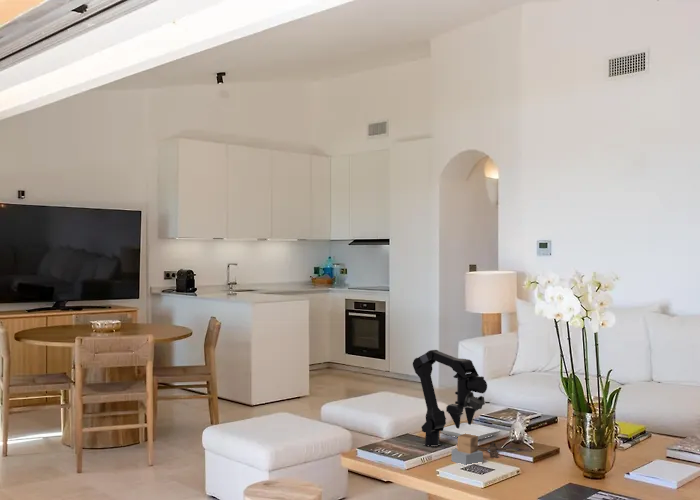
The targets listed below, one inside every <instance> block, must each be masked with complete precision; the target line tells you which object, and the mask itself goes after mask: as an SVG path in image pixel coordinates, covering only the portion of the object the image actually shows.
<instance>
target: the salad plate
mask: <svg viewBox="0 0 700 500" xmlns="http://www.w3.org/2000/svg"><path fill="white" fill-rule="evenodd" d="M472 430H476V431H482V432H491V433H487V434H483V435H480V436H478V439H481V440H483V439H482V438H485V437H488V436H491V435H494V436H496V435H495V434H497V435H498V434H500V433H501V431H502V430H501V429H498V428H493V427H489V426H485V425H482V424H475V423H473V422H471V425H469V424H468V422H460V427H459V429H458V428H456V426H455V424H452V425H448V426H444V429H443V431H440V433H441V434H445V435H446V434H447V436H449V435H451V436H450V437H452V436H455V437H454V438H456V437H458V436H460V435H462V434H460V433H461V432H463V431H472ZM491 437H492V436H491ZM488 438H489V437H488ZM485 439H486V438H485Z"/></svg>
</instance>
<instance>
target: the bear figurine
mask: <svg viewBox="0 0 700 500" xmlns="http://www.w3.org/2000/svg"><path fill="white" fill-rule="evenodd" d="M506 449H512V447H509V448H505V447H502V448H500V447H499V446H497V445H496V443H495V442H494V441H492V442H490V443H489V445H488V446H487V447H484V446H483V447H482V446H478V450H486V451H489V454H488V455H489V457H490V458H491V459H493V458H495V459H498V458H499V452H498V451H500V452H501V451H502V450H506Z"/></svg>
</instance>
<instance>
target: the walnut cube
mask: <svg viewBox="0 0 700 500" xmlns="http://www.w3.org/2000/svg"><path fill="white" fill-rule="evenodd" d="M478 447H479V440H478V436H476V435H471V434H466V433H465V434H462V435H460V436H458V438H457V448H458V451H460V452H465V453H469V454H471V453H473V452H476V451H478V450H479V449H478Z"/></svg>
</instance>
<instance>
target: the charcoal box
mask: <svg viewBox="0 0 700 500" xmlns="http://www.w3.org/2000/svg"><path fill="white" fill-rule="evenodd" d="M450 461H451V462H453V463H455V464H458V463H461V464H464V465H467V464H472V463H478V462H483V463H484V451H482V450H480V449H478V451H476V452H473V453H471V454H469V453H465V452H460V451H458V447H457V448H454V449H453V448H452V449H451V460H450Z"/></svg>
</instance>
